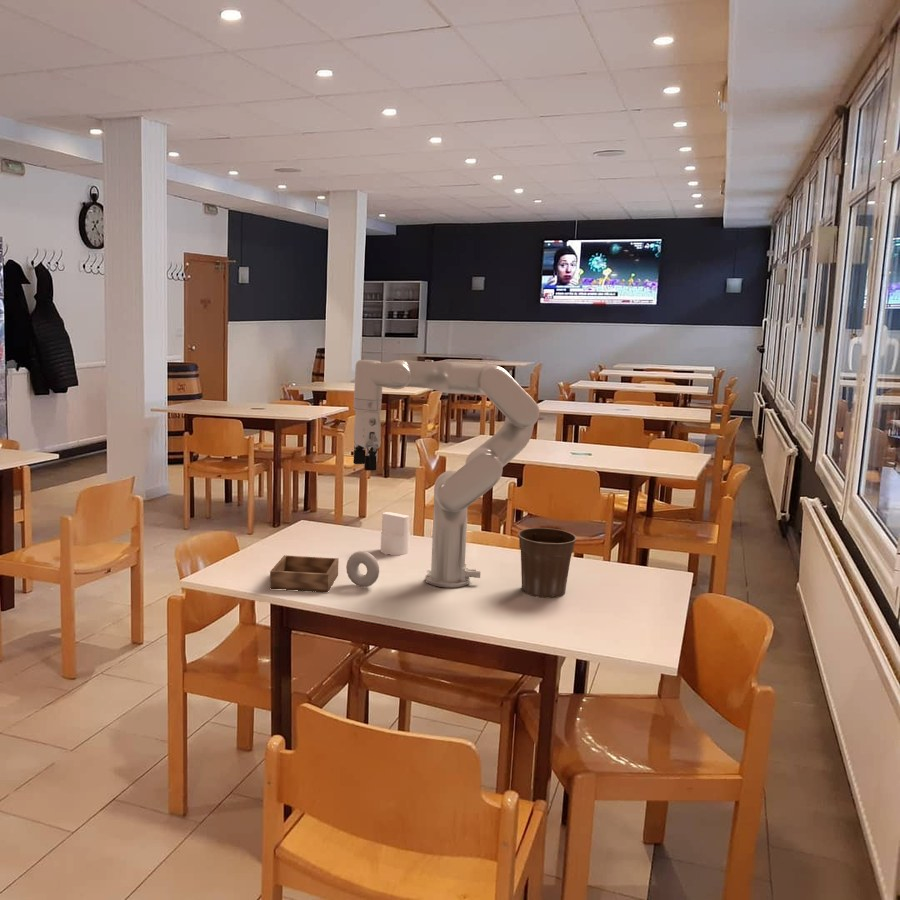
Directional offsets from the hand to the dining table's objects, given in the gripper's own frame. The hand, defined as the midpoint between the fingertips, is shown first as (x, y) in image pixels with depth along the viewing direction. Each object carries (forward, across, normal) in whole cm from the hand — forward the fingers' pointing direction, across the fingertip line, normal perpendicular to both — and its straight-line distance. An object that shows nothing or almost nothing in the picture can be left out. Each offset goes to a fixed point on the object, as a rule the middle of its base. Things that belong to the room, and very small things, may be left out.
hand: (364, 467), depth 229 cm
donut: (+32, -7, +1) cm, 33 cm away
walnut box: (+32, +2, +15) cm, 36 cm away
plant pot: (+32, -24, -46) cm, 61 cm away
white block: (+32, +24, -20) cm, 45 cm away
